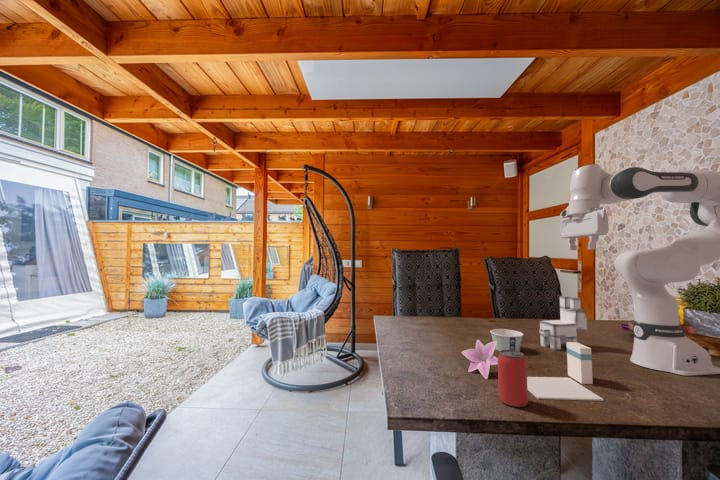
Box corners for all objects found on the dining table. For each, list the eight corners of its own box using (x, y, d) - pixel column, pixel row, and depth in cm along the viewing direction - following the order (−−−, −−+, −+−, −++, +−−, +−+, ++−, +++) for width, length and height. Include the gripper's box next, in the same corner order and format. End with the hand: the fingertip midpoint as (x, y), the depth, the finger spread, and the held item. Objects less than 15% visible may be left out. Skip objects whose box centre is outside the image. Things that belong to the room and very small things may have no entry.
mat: (569, 379, 91) (569, 377, 91) (603, 400, 77) (603, 399, 77) (513, 377, 92) (513, 376, 92) (537, 399, 78) (537, 397, 78)
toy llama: (535, 345, 126) (533, 296, 127) (571, 343, 129) (569, 295, 130) (549, 351, 118) (547, 299, 120) (587, 348, 122) (585, 297, 123)
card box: (578, 375, 94) (576, 342, 94) (592, 384, 87) (591, 348, 88) (567, 375, 94) (566, 342, 95) (581, 383, 88) (580, 348, 88)
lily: (460, 367, 103) (453, 345, 100) (490, 352, 105) (484, 330, 102) (482, 393, 92) (475, 369, 89) (515, 376, 94) (509, 352, 90)
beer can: (527, 410, 72) (525, 358, 73) (496, 403, 75) (495, 354, 76) (528, 400, 77) (527, 351, 78) (500, 393, 81) (499, 347, 82)
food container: (486, 344, 128) (486, 328, 128) (516, 345, 126) (516, 329, 127) (496, 353, 116) (495, 335, 116) (529, 354, 115) (528, 336, 115)
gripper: (616, 206, 96) (613, 249, 96) (574, 215, 117) (572, 251, 116) (595, 204, 97) (592, 247, 96) (557, 214, 117) (555, 249, 117)
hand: (581, 249), depth 106 cm, fingers open, 8 cm apart
